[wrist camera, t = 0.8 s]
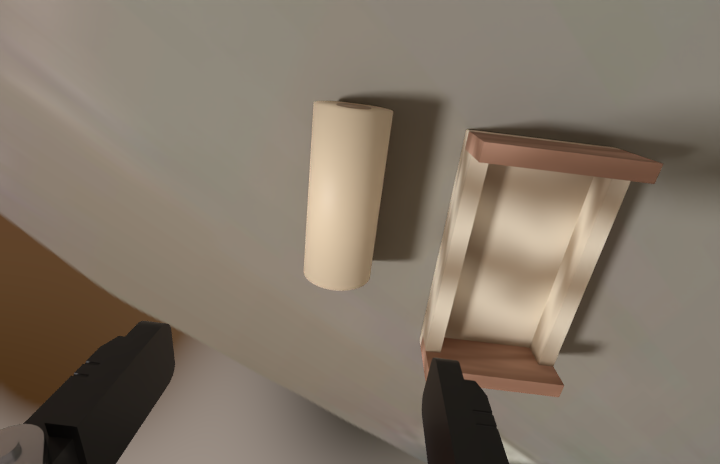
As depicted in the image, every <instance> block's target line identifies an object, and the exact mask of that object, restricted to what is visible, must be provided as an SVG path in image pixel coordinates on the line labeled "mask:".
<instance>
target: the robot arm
mask: <svg viewBox="0 0 720 464" xmlns="http://www.w3.org/2000/svg"><path fill="white" fill-rule="evenodd" d="M174 367H175V360H174V351H173V342H172V334H171V327H170V325H169V324H165V323H156V322H149V321H141V322H139V323H138V324H137V325H136V326H135V327H134V328H133V329H132V330H131V331H130V332H129V333H128V334H127V336H125V337H123V336H118V337H116V338H115V339H113V340H112V341H110V342H108V343H106V344H104V345H103V346H101V347H100V348H99V349H98V350H97V351H96V352H95V353H94V354H93V355H92V356H91V357H90V358H89V359H88V360H87V361H86V363H85V364H83V365H82V366H81V367H80V368H79V369H78V370H77V371H76V372H75V373H74V376H71V377H70V378H69V379H68V380H67V381H66V382H65V383H64V384H63V385H62V386H61V387H60V388H59V389H58V390H57V391H56V392H55V393H54V394H53V395H52V396H51V397H50V398H49V399H48V400H47V401H46V402H45V403H44V404H43V405H42V406H41V407H40V408H39V409H38V410H37V411H36V412H35V413H34V414H33V415H32V416H31V417H30V418H29V419H28V420H27V421H26V422H25V423H23V424H19V425H13V426H10V427H6V428H3V429H1V430H0V464H116V463H117V461H118V460H119V458H120V457H121V455H122V454H123V452H124V450H125V449H126V448H127V446H128V444H129V443H130V442H131V440H132V439H133V437H134V435H135V434H136V433H137V431H138V429H139V428H140V427H141V425H142V424H143V422H144V421H145V419H146V417H147V416H148V415H149V413H150V411H151V410H152V408H153V407H154V405H155V404H156V402H157V401H158V399H159V398H160V396H161V395H162V393H163V392H164V390H165V389H166V387H167V386H168V384H169V383H170V380H171V378H172V376H173V372H174ZM422 419H423V428H424V436H425V444H426V452H427V461H428V464H509V462H508V459H507V456H506V453H505V450H504V447H503V444H502V441H501V438H500V435H499V431H498V429H497V428H496V427H497V425H496V422H495V419H494V416H493V415H492V410H491V407H490V404H489V401H488V398H487V395H486V394H485V393H484V391H483V390H482V389H481V388H480V386H479V385H478V384H477V382H476V381H473V380H465V379H464V377H463V374H462V370H461V366H460V363H459V361H457V360H450V359H442V358H433V359H432V361H431V364H430V368H429V372H428V376H427V380H426V384H425V388H424V392H423V398H422Z"/></svg>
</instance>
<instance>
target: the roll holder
mask: <svg viewBox="0 0 720 464" xmlns="http://www.w3.org/2000/svg"><path fill="white" fill-rule="evenodd" d="M662 166H663V164H662V163H659V162H656V161H653V160H651V159H648V158H645V157H642V156H639V155H636V154H633V153H630V152H627V151H624V150H621V149H618V148H615V147H607V146H599V145H591V144H583V143H575V142H566V141H558V140H550V139H542V138H534V137H526V136H518V135H509V134H501V133H493V132H485V131H477V130H469V129H466V133H465V138H464V142H463V147H462V151H461V156H460V160H459V165H458V169H457V174H456V178H455V183H454V187H453V192H452V196H451V201H450V205H449V210H448V214H447V219H446V223H445V228H444V232H443V237H442V241H441V246H440V250H439V255H438V259H437V264H436V268H435V273H434V277H433V282H432V286H431V291H430V295H429V300H428V304H427V309H426V313H425V318H424V322H423V327H422V331H421V336H420V346H421V352H422V359H423V366H424V373H425V380H427V376H428V372H429V368H430V364H431V361H432V359H433V358H442V359H450V360H457V361H459V363H460V366H461V370H462V374H463V377H464V379H465V380H473V381H476V382H477V384H478V385H479V386H480V388H488V389H496V390H504V391H512V392H521V393H529V394H537V395H545V396H554V397H559V396H560V394H561V392H562V390H563V387H564V384H563V383H562V381H561V379H560V378H559V376H558V374H557V372H556V371H555V369H554V367H553V366H554V363H555V361H556V358H557V356H558V354H559V351H560V349H561V346H562V344H563V342H564V339H565V337H566V335H567V332H568V330H569V327H570V325H571V323H572V320H573V318H574V315H575V313H576V311H577V308H578V306H579V304H580V301H581V299H582V296H583V294H584V292H585V289H586V287H587V285H588V282H589V280H590V277H591V275H592V273H593V270H594V268H595V265H596V263H597V261H598V258H599V256H600V254H601V251H602V249H603V246H604V244H605V242H606V239H607V237H608V234H609V232H610V230H611V227H612V225H613V223H614V220H615V218H616V215H617V213H618V211H619V208H620V206H621V203H622V201H623V199H624V196H625V194H626V192H627V189H628V187H629V184H630V182H631V181H635V182H643V183H651V184H655V182H656V179H657V177H658V175H659V173H660V171H661V168H662Z"/></svg>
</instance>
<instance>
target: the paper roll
mask: <svg viewBox="0 0 720 464" xmlns="http://www.w3.org/2000/svg"><path fill="white" fill-rule="evenodd" d="M392 118H393V111H392V110H390V109H386V108H382V107H378V106H372V105H365V104H357V103H349V102H339V101H315V102H314V106H313V123H312V140H311V157H310V174H309V191H308V208H307V225H306V242H305V259H304V275H305V277H306V278H307V279H308V280H309V281H310V282H311V283H313V284H315V285H317V286H319V287H322V288H325V289H329V290H338V291H345V290H353V289H356V288H359V287H362V286H363V285H365V284H366V283H367V282H368V281H369V279H370V273H371V266H372V259H373V252H374V244H375V237H376V230H377V223H378V216H379V209H380V202H381V195H382V188H383V181H384V174H385V167H386V160H387V153H388V146H389V139H390V132H391V125H392Z"/></svg>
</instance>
